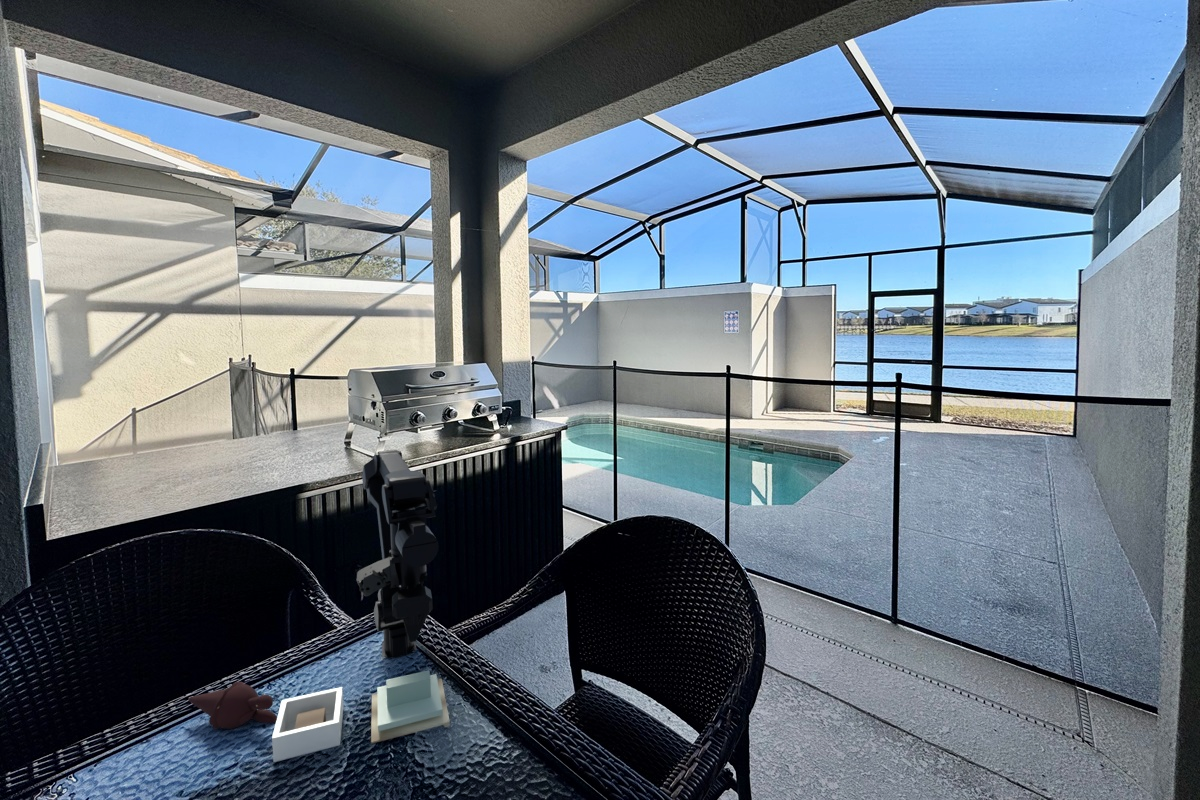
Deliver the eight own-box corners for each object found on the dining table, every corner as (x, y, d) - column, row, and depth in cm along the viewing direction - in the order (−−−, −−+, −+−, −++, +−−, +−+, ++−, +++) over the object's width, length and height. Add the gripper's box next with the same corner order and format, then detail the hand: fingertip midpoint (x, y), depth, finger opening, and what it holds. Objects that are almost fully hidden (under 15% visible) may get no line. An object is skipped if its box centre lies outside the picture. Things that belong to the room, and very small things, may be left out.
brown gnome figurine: (165, 703, 84) (254, 718, 82) (202, 664, 90) (286, 677, 89) (175, 734, 86) (262, 748, 85) (210, 694, 93) (291, 706, 92)
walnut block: (298, 727, 86) (297, 713, 86) (325, 721, 88) (325, 707, 88) (295, 745, 83) (294, 730, 82) (323, 738, 84) (322, 723, 84)
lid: (377, 696, 94) (376, 669, 93) (436, 682, 98) (435, 656, 97) (378, 736, 85) (376, 705, 84) (442, 719, 88) (442, 689, 88)
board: (372, 698, 94) (371, 694, 94) (441, 682, 99) (441, 678, 99) (371, 746, 83) (371, 742, 83) (449, 726, 88) (449, 721, 88)
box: (283, 725, 88) (281, 700, 87) (343, 710, 91) (342, 686, 91) (273, 765, 80) (271, 738, 79) (340, 748, 83) (338, 722, 82)
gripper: (360, 532, 99) (363, 611, 101) (356, 574, 82) (361, 668, 84) (422, 525, 103) (425, 600, 105) (431, 563, 86) (434, 652, 88)
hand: (411, 627), depth 96 cm, fingers open, 9 cm apart
